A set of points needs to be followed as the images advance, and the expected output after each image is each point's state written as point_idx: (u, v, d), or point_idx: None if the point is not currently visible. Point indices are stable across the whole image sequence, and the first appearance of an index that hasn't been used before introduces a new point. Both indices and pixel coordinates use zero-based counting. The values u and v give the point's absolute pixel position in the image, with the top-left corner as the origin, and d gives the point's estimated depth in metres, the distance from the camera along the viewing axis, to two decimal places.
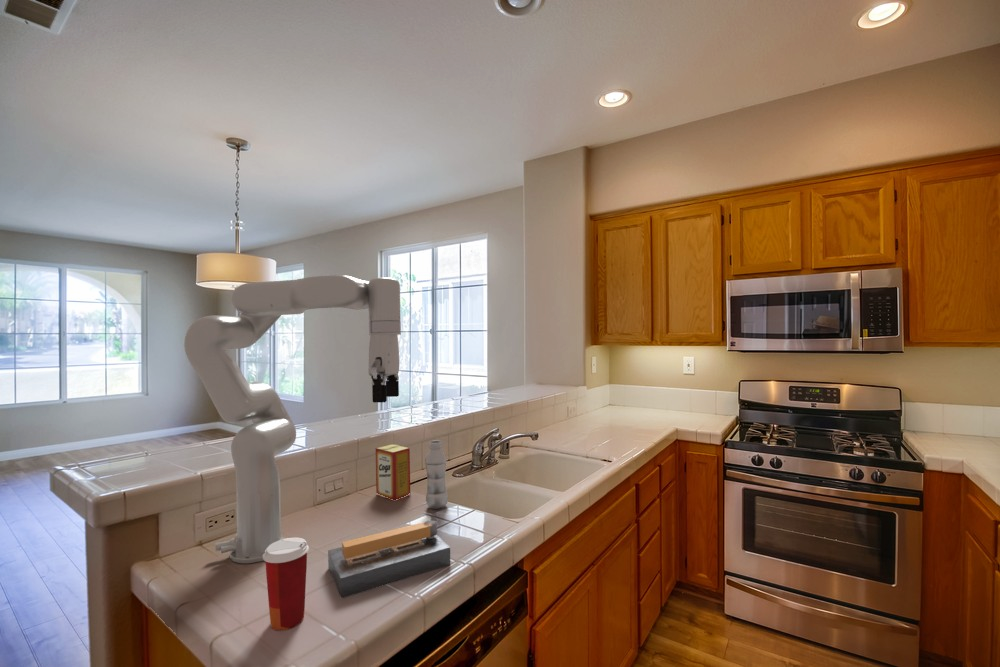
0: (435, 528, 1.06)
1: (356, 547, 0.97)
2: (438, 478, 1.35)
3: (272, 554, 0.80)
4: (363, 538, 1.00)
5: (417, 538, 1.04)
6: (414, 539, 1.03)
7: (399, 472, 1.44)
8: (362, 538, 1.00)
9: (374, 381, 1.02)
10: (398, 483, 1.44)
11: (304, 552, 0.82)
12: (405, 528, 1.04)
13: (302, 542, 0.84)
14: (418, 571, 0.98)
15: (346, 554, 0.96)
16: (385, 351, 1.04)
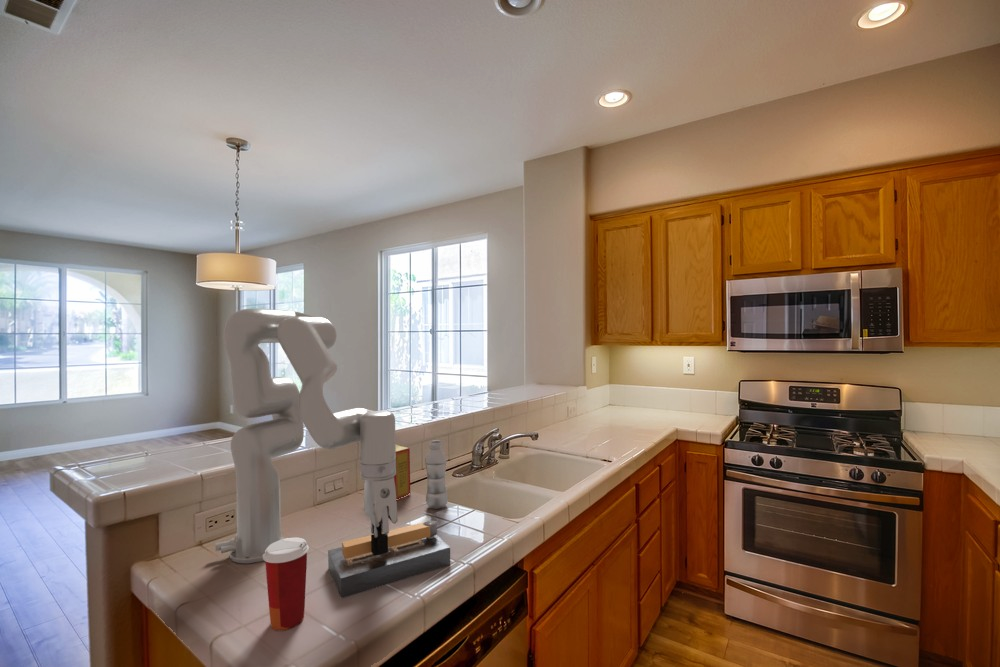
0: (435, 528, 1.06)
1: (356, 547, 0.97)
2: (438, 478, 1.35)
3: (272, 554, 0.80)
4: (363, 538, 1.00)
5: (417, 538, 1.04)
6: (414, 539, 1.03)
7: (399, 472, 1.44)
8: (362, 538, 1.00)
9: None
10: (398, 483, 1.44)
11: (304, 552, 0.82)
12: (405, 528, 1.04)
13: (302, 542, 0.84)
14: (418, 571, 0.98)
15: (346, 554, 0.96)
16: None
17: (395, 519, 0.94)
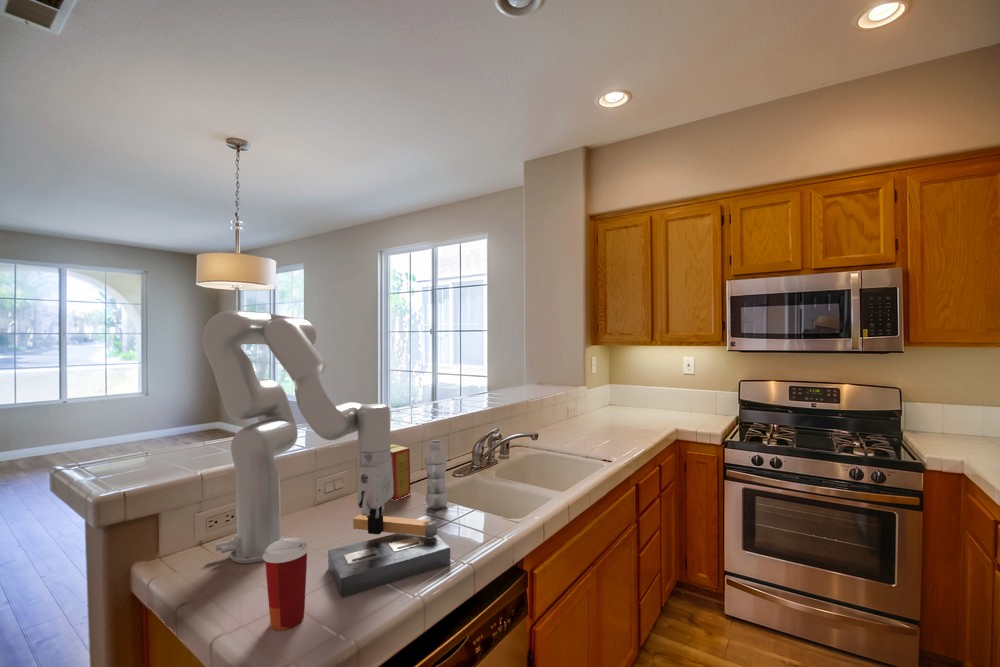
0: (431, 530, 1.06)
1: (361, 522, 1.10)
2: (438, 478, 1.35)
3: (272, 554, 0.80)
4: None
5: (413, 533, 1.07)
6: (410, 533, 1.07)
7: (399, 472, 1.44)
8: None
9: None
10: (398, 483, 1.44)
11: (304, 552, 0.82)
12: (408, 520, 1.09)
13: (302, 542, 0.84)
14: (418, 571, 0.98)
15: (354, 525, 1.11)
16: None
17: (372, 505, 1.02)
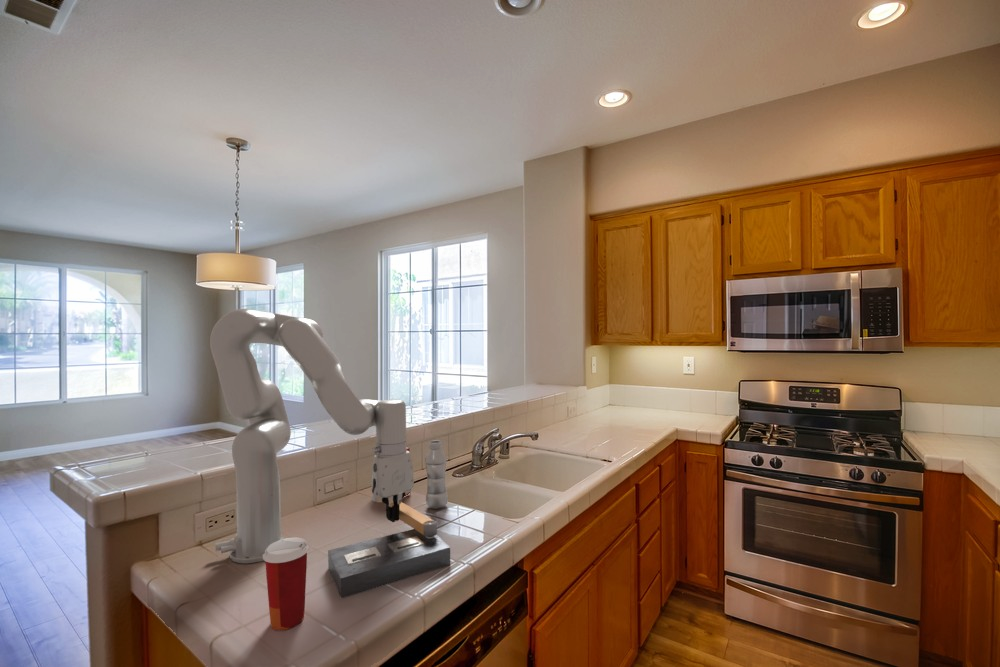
0: (427, 530, 1.06)
1: None
2: (438, 478, 1.35)
3: (272, 554, 0.80)
4: (401, 504, 1.19)
5: (416, 529, 1.09)
6: (415, 528, 1.09)
7: None
8: (401, 504, 1.20)
9: None
10: None
11: (304, 552, 0.82)
12: (419, 515, 1.12)
13: (302, 542, 0.84)
14: (418, 571, 0.98)
15: None
16: None
17: (379, 493, 1.10)
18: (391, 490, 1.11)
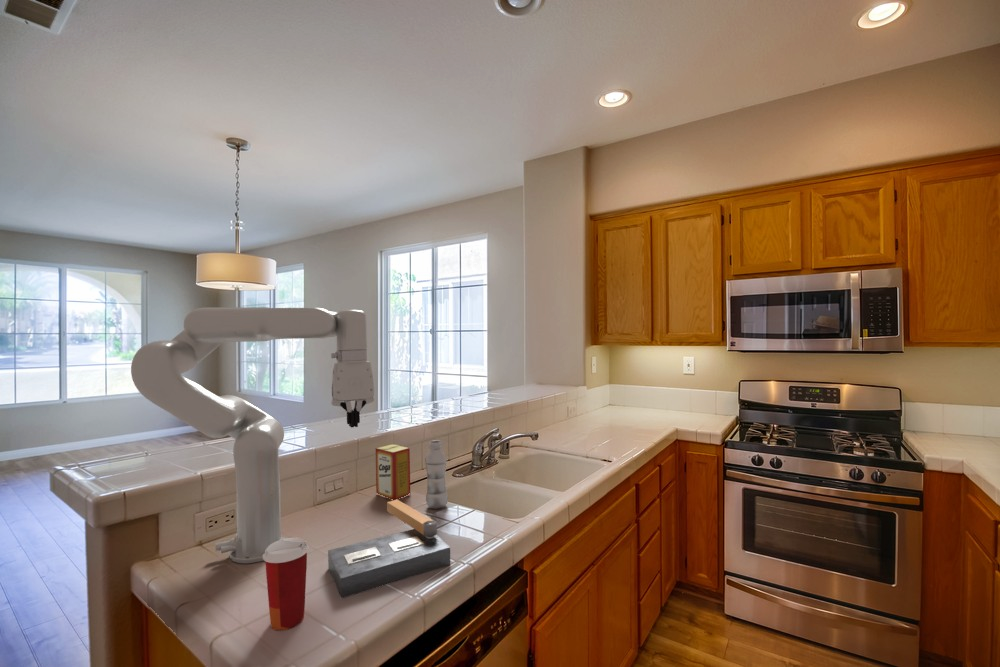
0: (427, 530, 1.06)
1: (391, 507, 1.20)
2: (438, 478, 1.35)
3: (272, 554, 0.80)
4: (401, 504, 1.19)
5: (416, 529, 1.09)
6: (415, 528, 1.09)
7: (399, 472, 1.44)
8: (401, 504, 1.20)
9: None
10: (398, 483, 1.44)
11: (304, 552, 0.82)
12: (419, 515, 1.12)
13: (302, 542, 0.84)
14: (418, 571, 0.98)
15: (387, 508, 1.21)
16: None
17: (334, 396, 1.13)
18: (347, 395, 1.14)
